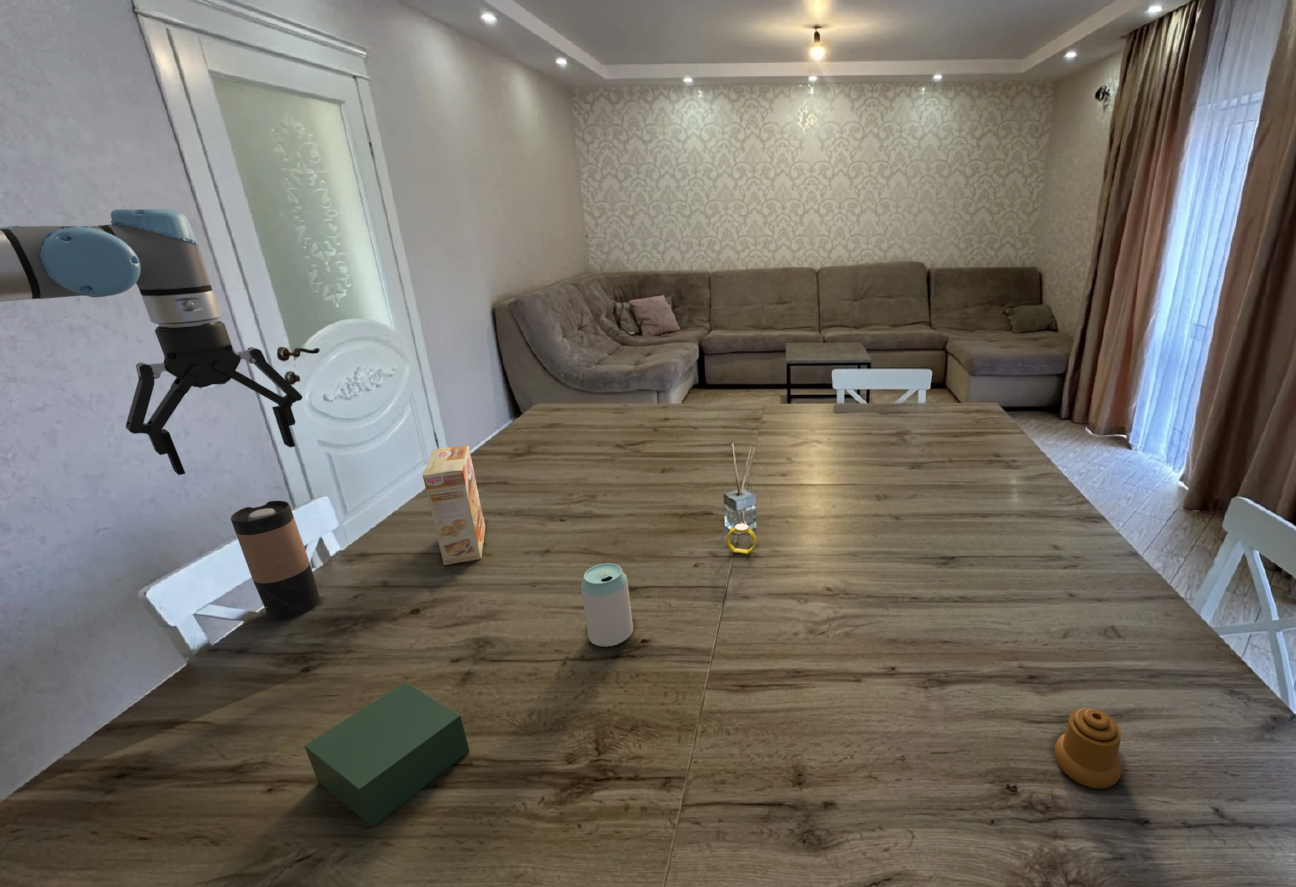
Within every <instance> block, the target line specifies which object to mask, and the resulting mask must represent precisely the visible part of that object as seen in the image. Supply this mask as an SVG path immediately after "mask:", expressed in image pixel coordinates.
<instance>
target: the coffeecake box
mask: <svg viewBox="0 0 1296 887" xmlns="http://www.w3.org/2000/svg"><path fill="white" fill-rule="evenodd" d="M421 477H422V479H423V482H424V487H425V492H426V496H427V500H428V505H429V508H430V512H431V517H432V521H433V525H434V530H435V534H436V539H437V543H438V546H439V550H440V554H441V559H442V565H443V566H448V565H454V564H459V563H467V562H472V561H477V560H482V558H483V557H482V556H483V549H484V542H485V533H486V523H485V519H484V513H483V509H482V504H481V500H480V494H479V491H478V485H477V480H476V474H475V469H474V466H473V461H472V455H471V451H470V445H459V446H458V445H457V446H451V447H441V448H434V449H432V452H431V453H430V456H429V459H428V460H427V464H426V465H425V469H424V470H423V473H422V476H421Z"/></svg>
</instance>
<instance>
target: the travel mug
mask: <svg viewBox="0 0 1296 887" xmlns="http://www.w3.org/2000/svg"><path fill="white" fill-rule="evenodd" d="M230 521H231V524H232V527H233V529H234V532H235V535H236V538H237V541H238V543H239V546H240V549H241V552H242V554H243V557H244V560H245V562H246V565H247V568H248V571H249V574H250V576H251V580H252V581H253V584H254V586H255V588H256V592H257V593H258V595H259V598H260V601H261V603H262V605H263V607H264V609H265V612H266V614H267V616H268V618H269V619H271V620H274V621H283V620H284V621H285V620H289V619H294V618H296V617H297V618H298V617H299V616H301V615H304V614H306V613H308V612H310V611H312V610H313V609H315V608H316V607H317V606H318V605H319V604H320V602H321V597H320V593H319V589H318V587H317V583H316V580H315V576H314V573H313V568H312V565H311V563H310V558H309V557H308V554H307V551H306V547H305V544H304V542H303V539H302V536H301V533H300V531H299V528H298V525H297V522H296V519H295V517H294V513H293V511H292V508H291V505H290V503H289V502H288V501H285V500H270V501H267V502H266V503H265V504H262V505H260V506H256V507H253V506H246V507H243V508H241V509H239V510H237V511H235V512H234V513H233V514H231V517H230ZM266 607H267V608H266Z"/></svg>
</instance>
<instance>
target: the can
mask: <svg viewBox="0 0 1296 887" xmlns="http://www.w3.org/2000/svg"><path fill="white" fill-rule="evenodd" d="M580 591H581V598H582V604H583V610H584V616H585V622H586V623H585V624H586V629H587V636H588V640H589V642H590V643H591V644H592V645H594V646H598V647H604V648H607V647H608V646H609V647H614V645H615V646H617V645H620V644H622V643H623V642H625V641H626V640H627V639H629V638H630V636H631V635H632V634H633V632H634V625H633V616H632V615H633V614H632V608H631V600H630V592H629V583H628V577H627V575H626V573H624V572H623V568H622V567H621V566H620V565H618V564H616V563H607V562H606V563H600V564H596V565H593V566H591V567H590V568H588V569H587V570H586V571H585V572H584V574H583V578H582V580H581V583H580ZM619 643H620V644H619Z"/></svg>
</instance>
